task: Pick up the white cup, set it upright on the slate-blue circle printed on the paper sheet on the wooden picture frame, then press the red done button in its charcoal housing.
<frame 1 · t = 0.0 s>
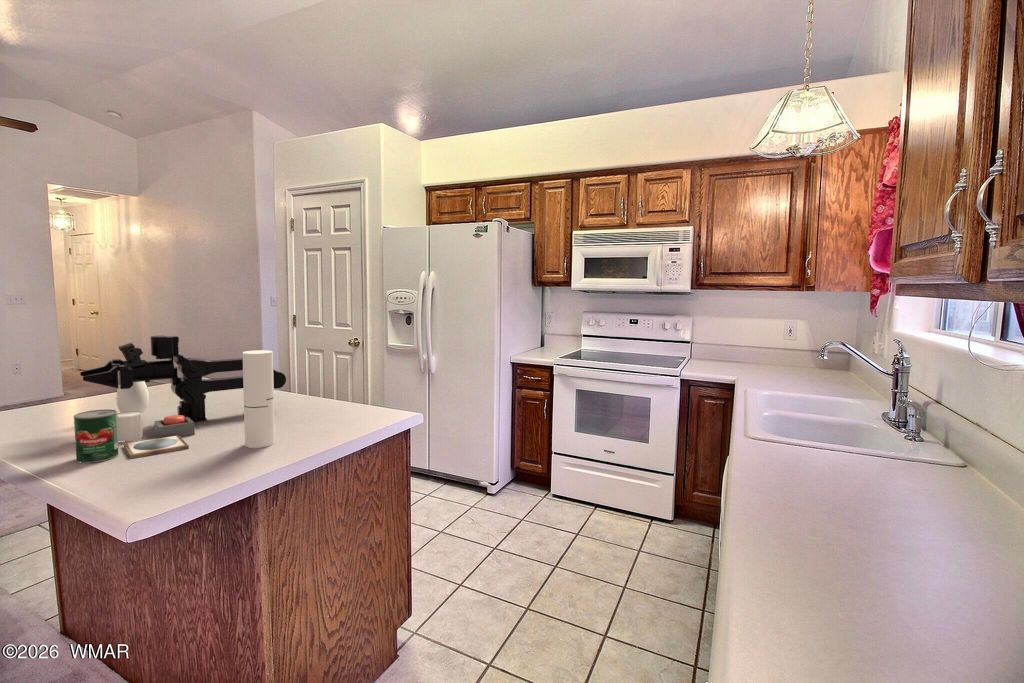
hand: (81, 376, 133), 17 cm above the worktop, tool horizontal, fingers open, 9 cm apart
canned tomato: (98, 458, 118), on the worktop
button housing: (174, 433, 138), on the worktop
cylindrical container: (260, 444, 131), on the worktop
wooden picture frame: (156, 447, 126), on the worktop
white cup: (129, 439, 132), on the worktop
done button: (174, 420, 137), point 4 cm above the worktop, slide at 0.0 cm
sauce bottle: (133, 418, 153), on the worktop
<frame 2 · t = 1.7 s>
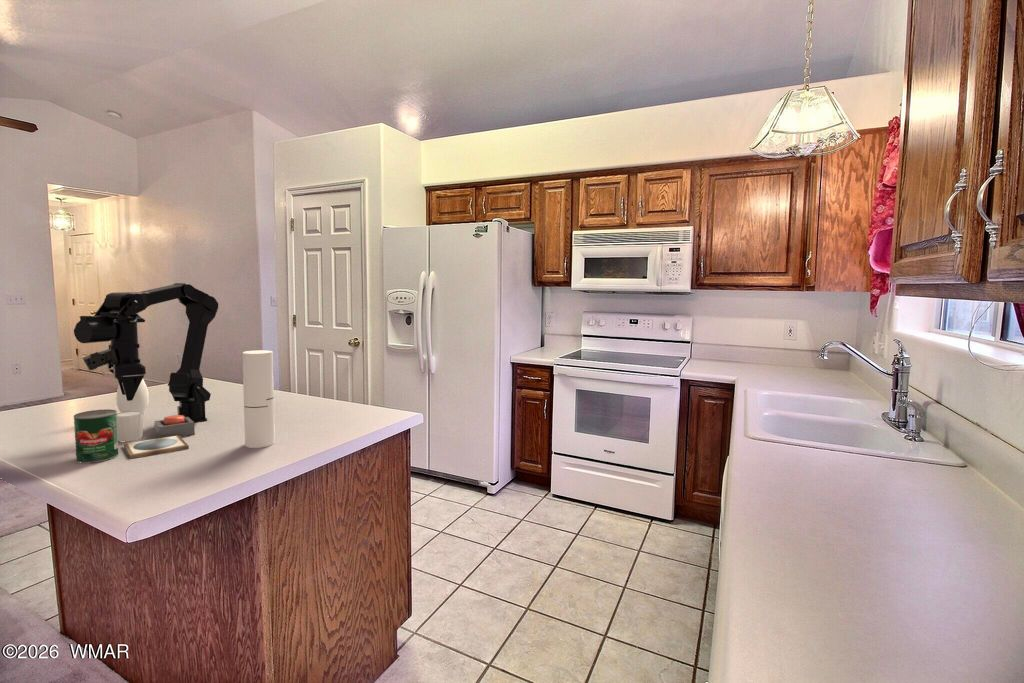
hand: (127, 397, 131), 11 cm above the worktop, tool pointing down, fingers open, 9 cm apart
nothing on the worktop moved.
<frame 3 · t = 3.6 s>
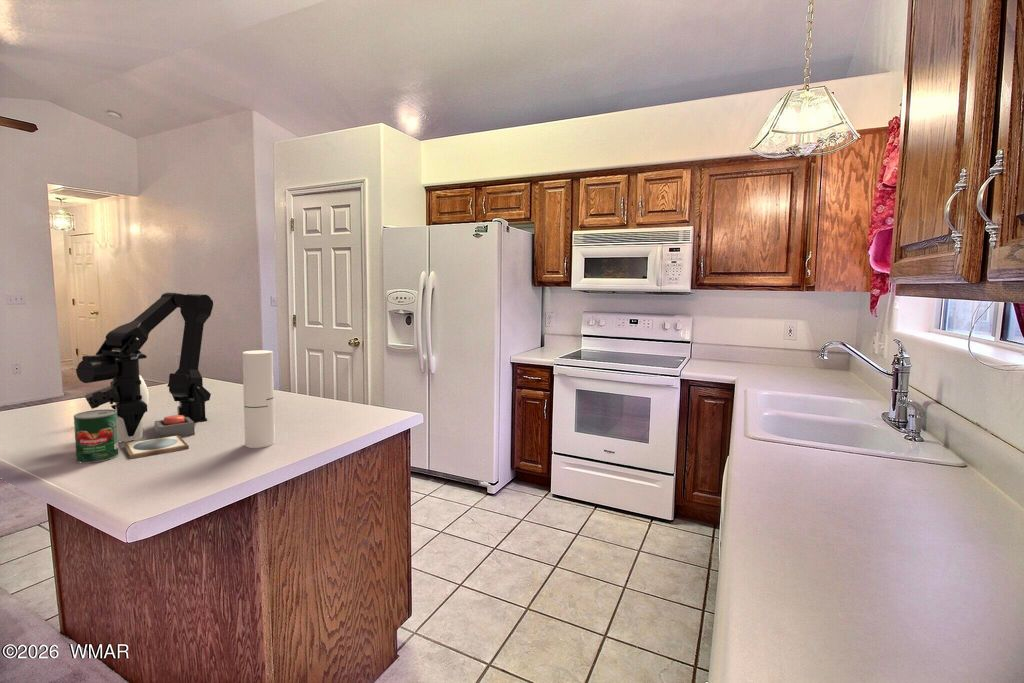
hand: (129, 433, 132), 2 cm above the worktop, tool pointing down, fingers closed on white cup, 6 cm apart
white cup: (129, 439, 132), on the worktop, touching gripper
everything else where it was.
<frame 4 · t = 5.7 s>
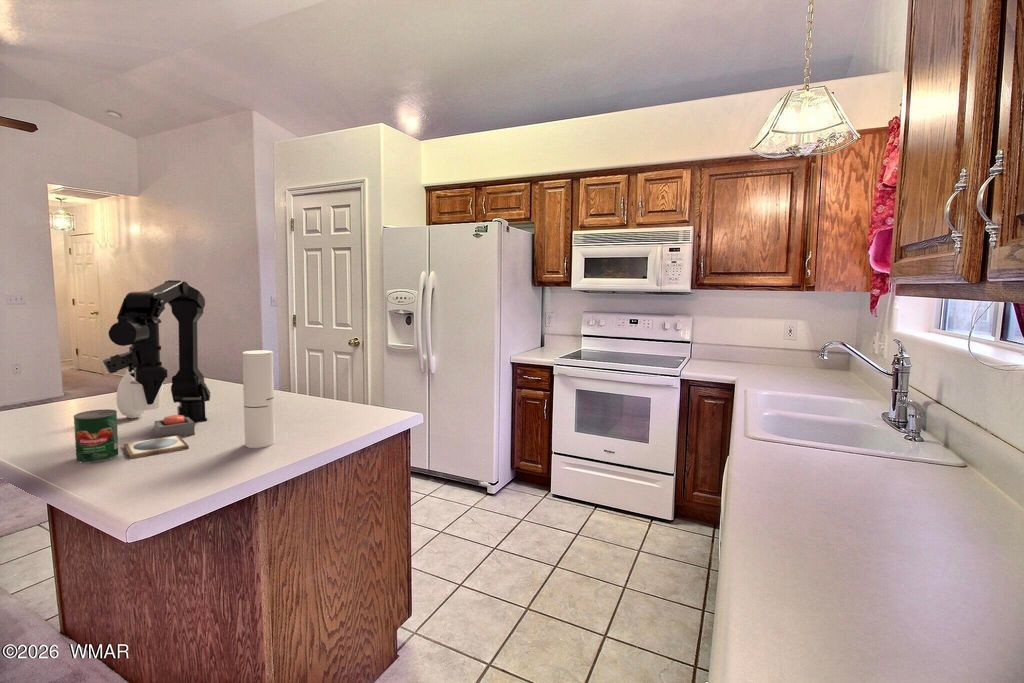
hand: (148, 402, 125), 12 cm above the worktop, tool pointing down, fingers closed on white cup, 6 cm apart
white cup: (147, 408, 126), point 10 cm above the worktop, touching gripper
everything else where it was.
when the fingers open (3 cm above the worktop, at t = 8.3 s): white cup stays where it is, resting on wooden picture frame.
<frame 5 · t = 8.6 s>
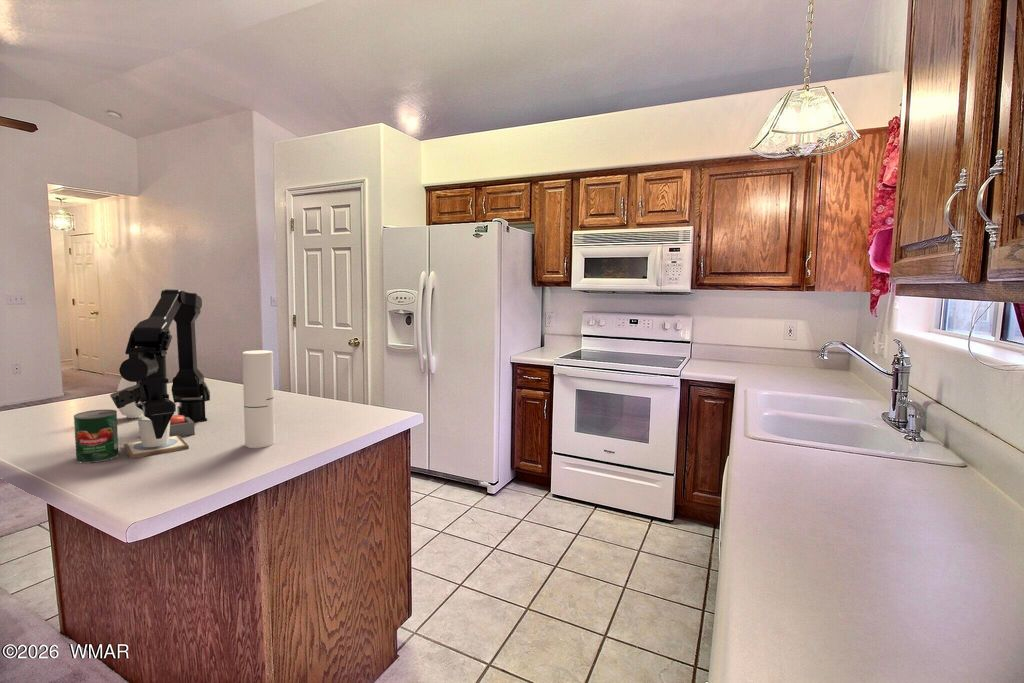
hand: (155, 434, 126), 3 cm above the worktop, tool pointing down, fingers open, 9 cm apart
white cup: (155, 444, 126), point 1 cm above the worktop, touching wooden picture frame
everything else where it was.
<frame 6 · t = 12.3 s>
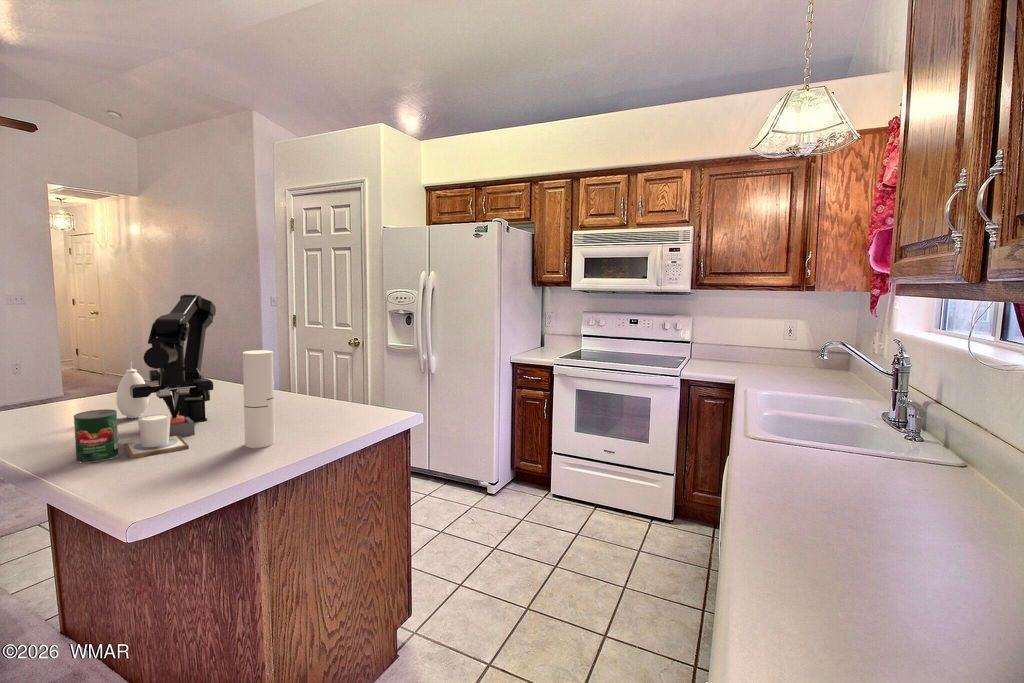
hand: (174, 417, 137), 5 cm above the worktop, tool pointing down, fingers closed, pressing on done button
done button: (174, 421, 138), point 4 cm above the worktop, slide at 0.1 cm, touching gripper
everything else where it was.
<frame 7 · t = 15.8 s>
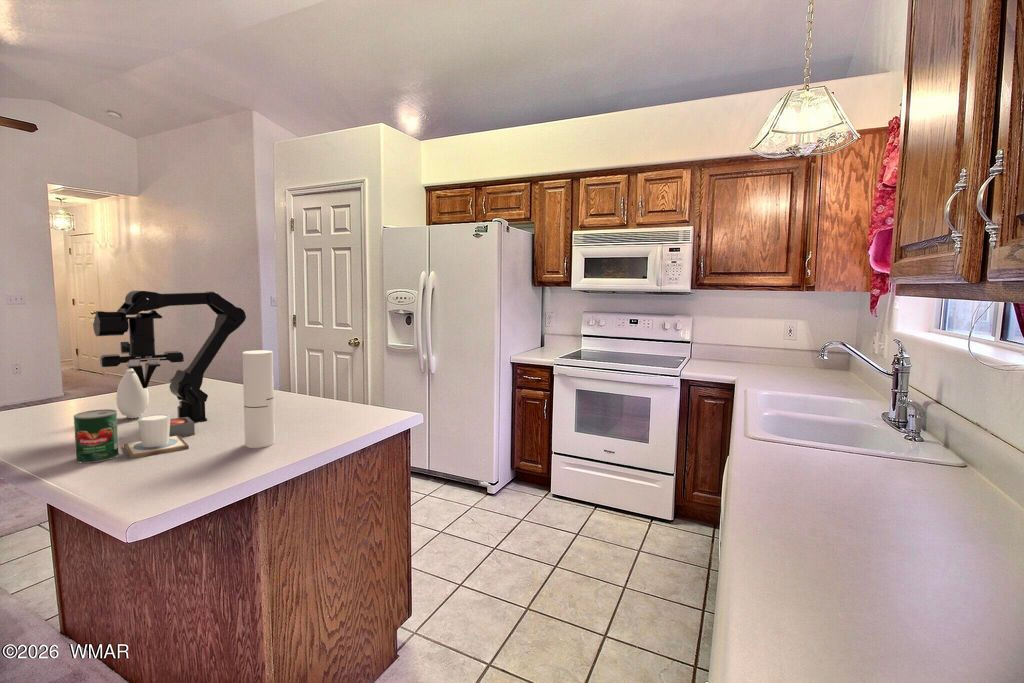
hand: (144, 388, 141), 12 cm above the worktop, tool pointing down, fingers closed
done button: (174, 425, 138), point 3 cm above the worktop, slide at 1.3 cm
everything else where it was.
at the end: white cup 0.1 cm off-centre on the wooden picture frame, point 0.8 cm above the wooden picture frame's base; white cup tilted 0°; done button slide at 1.3 cm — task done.
